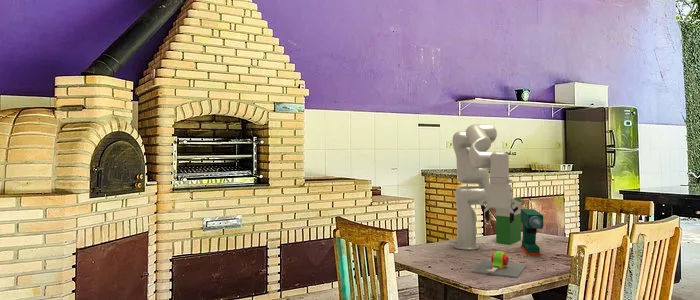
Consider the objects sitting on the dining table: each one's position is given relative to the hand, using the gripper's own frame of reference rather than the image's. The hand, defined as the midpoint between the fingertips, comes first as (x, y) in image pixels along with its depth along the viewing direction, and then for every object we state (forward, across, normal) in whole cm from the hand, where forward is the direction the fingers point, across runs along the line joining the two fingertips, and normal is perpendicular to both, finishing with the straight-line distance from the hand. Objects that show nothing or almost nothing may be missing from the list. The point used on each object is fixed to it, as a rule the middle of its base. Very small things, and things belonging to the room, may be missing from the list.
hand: (499, 221), depth 199 cm
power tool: (+20, -9, -36) cm, 42 cm away
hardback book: (+21, +8, -63) cm, 67 cm away
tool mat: (+20, 0, 0) cm, 20 cm away
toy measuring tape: (+20, 0, +2) cm, 20 cm away
